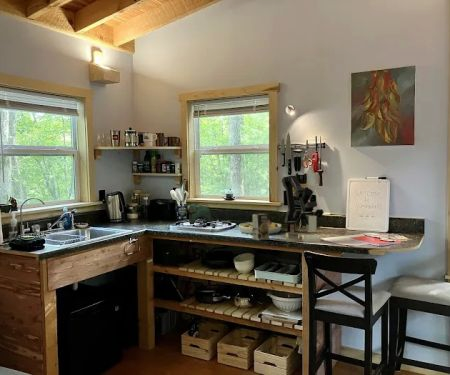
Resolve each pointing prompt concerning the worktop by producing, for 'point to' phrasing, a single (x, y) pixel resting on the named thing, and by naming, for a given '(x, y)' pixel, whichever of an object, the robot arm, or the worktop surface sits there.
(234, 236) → the worktop surface
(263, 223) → the coffee box
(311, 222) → the lever cap
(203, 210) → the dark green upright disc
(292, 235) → the plane body
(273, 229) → the bowl
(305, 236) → the tray
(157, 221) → the worktop surface
